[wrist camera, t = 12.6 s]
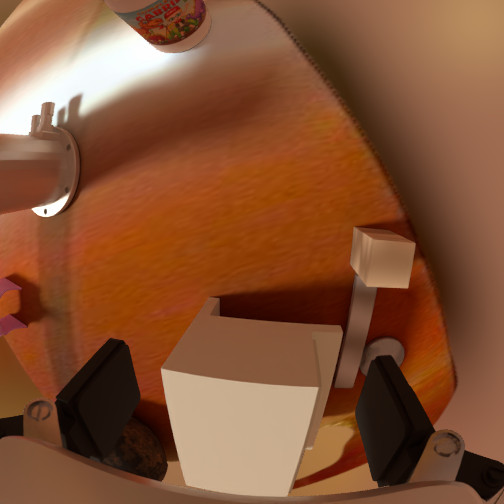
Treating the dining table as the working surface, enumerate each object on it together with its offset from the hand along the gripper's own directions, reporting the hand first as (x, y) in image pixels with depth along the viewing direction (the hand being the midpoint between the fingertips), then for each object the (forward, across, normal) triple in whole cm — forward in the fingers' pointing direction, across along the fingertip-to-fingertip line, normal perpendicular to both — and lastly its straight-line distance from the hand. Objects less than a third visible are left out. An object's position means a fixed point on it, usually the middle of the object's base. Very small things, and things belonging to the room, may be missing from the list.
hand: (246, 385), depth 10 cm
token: (+20, -15, +13) cm, 28 cm away
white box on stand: (+20, -1, +15) cm, 25 cm away
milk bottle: (+22, +10, -26) cm, 36 cm away
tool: (+20, -11, +7) cm, 24 cm away
